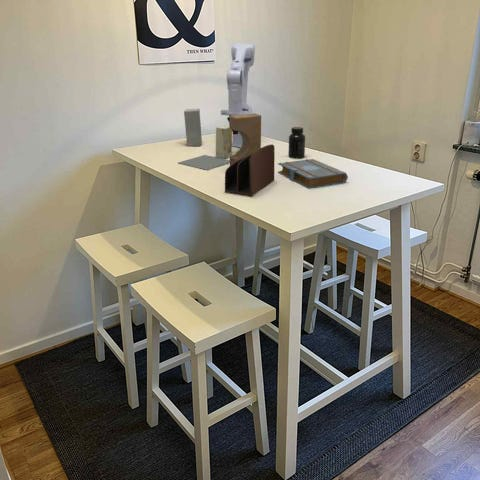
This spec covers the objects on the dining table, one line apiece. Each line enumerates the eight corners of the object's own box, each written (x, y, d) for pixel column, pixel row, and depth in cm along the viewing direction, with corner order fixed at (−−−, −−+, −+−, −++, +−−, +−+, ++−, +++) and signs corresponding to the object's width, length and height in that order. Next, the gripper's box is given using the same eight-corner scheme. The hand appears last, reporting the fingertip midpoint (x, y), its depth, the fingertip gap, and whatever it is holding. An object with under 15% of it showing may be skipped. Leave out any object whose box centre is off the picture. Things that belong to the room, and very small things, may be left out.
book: (347, 183, 170) (348, 170, 168) (307, 190, 164) (308, 176, 161) (314, 169, 187) (314, 156, 185) (276, 174, 181) (277, 161, 179)
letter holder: (274, 181, 172) (275, 141, 166) (251, 197, 156) (252, 154, 150) (249, 177, 176) (249, 138, 170) (224, 193, 160) (223, 151, 154)
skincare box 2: (224, 158, 198) (224, 128, 193) (215, 157, 200) (215, 127, 195) (232, 156, 203) (232, 126, 199) (223, 154, 205) (223, 125, 201)
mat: (204, 155, 204) (204, 154, 204) (233, 161, 195) (233, 161, 195) (177, 163, 193) (177, 162, 193) (206, 170, 184) (206, 169, 183)
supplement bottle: (304, 154, 205) (305, 126, 200) (304, 158, 199) (306, 129, 194) (288, 154, 206) (289, 126, 201) (288, 158, 200) (289, 129, 195)
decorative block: (235, 171, 182) (235, 117, 174) (229, 167, 187) (228, 115, 179) (261, 167, 187) (262, 115, 179) (254, 164, 192) (254, 113, 183)
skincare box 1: (200, 146, 219) (199, 110, 212) (185, 146, 219) (183, 110, 213) (202, 142, 227) (201, 107, 220) (187, 142, 227) (185, 107, 220)
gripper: (215, 100, 199) (216, 133, 205) (243, 103, 191) (242, 137, 197) (226, 98, 204) (227, 130, 210) (253, 101, 196) (253, 135, 202)
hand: (235, 134), depth 204 cm, fingers closed
